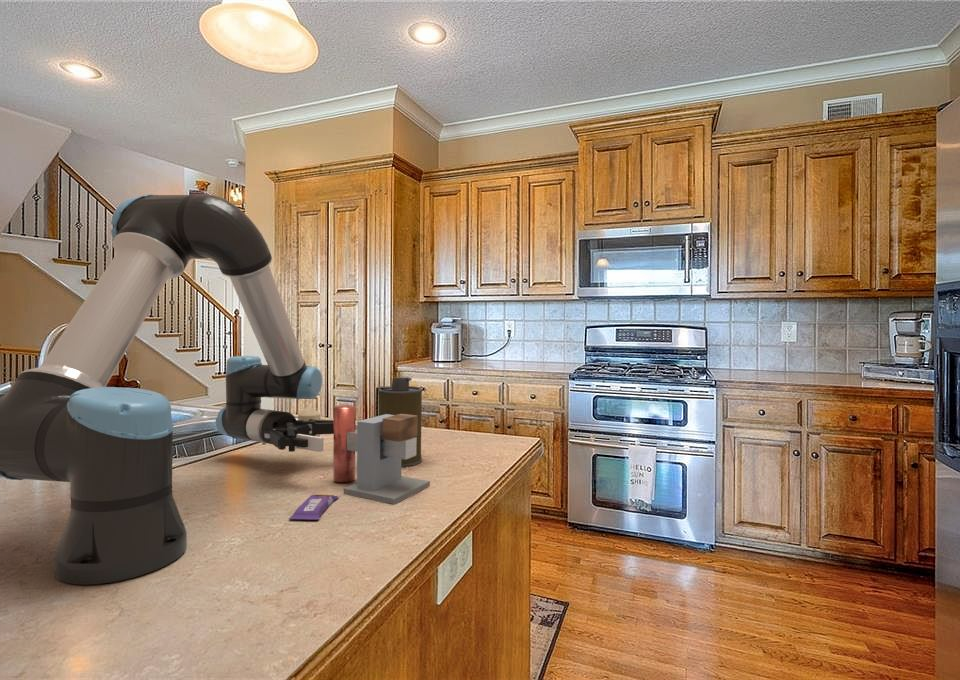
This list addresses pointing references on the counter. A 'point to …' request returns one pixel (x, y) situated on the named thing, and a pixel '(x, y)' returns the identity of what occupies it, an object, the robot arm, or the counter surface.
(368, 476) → the grey holder stand
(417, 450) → the canister
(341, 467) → the shaft
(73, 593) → the counter surface
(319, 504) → the snack package
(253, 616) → the counter surface
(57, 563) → the robot arm
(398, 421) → the bar
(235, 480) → the counter surface
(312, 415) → the candle
